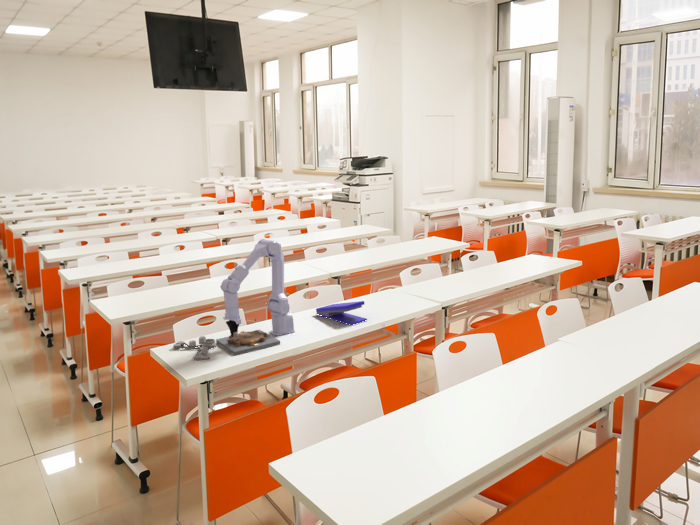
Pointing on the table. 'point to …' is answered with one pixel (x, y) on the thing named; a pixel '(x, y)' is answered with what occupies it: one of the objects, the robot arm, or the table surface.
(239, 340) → the brown flat round piece
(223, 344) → the board
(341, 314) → the stapler
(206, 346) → the pulley system
